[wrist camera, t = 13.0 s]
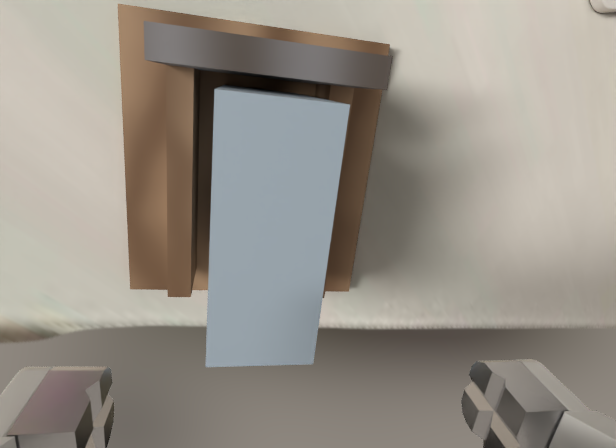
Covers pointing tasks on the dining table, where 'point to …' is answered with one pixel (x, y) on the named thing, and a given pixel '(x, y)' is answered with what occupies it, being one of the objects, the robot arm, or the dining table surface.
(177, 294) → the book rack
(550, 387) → the robot arm
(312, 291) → the book
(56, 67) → the dining table surface
